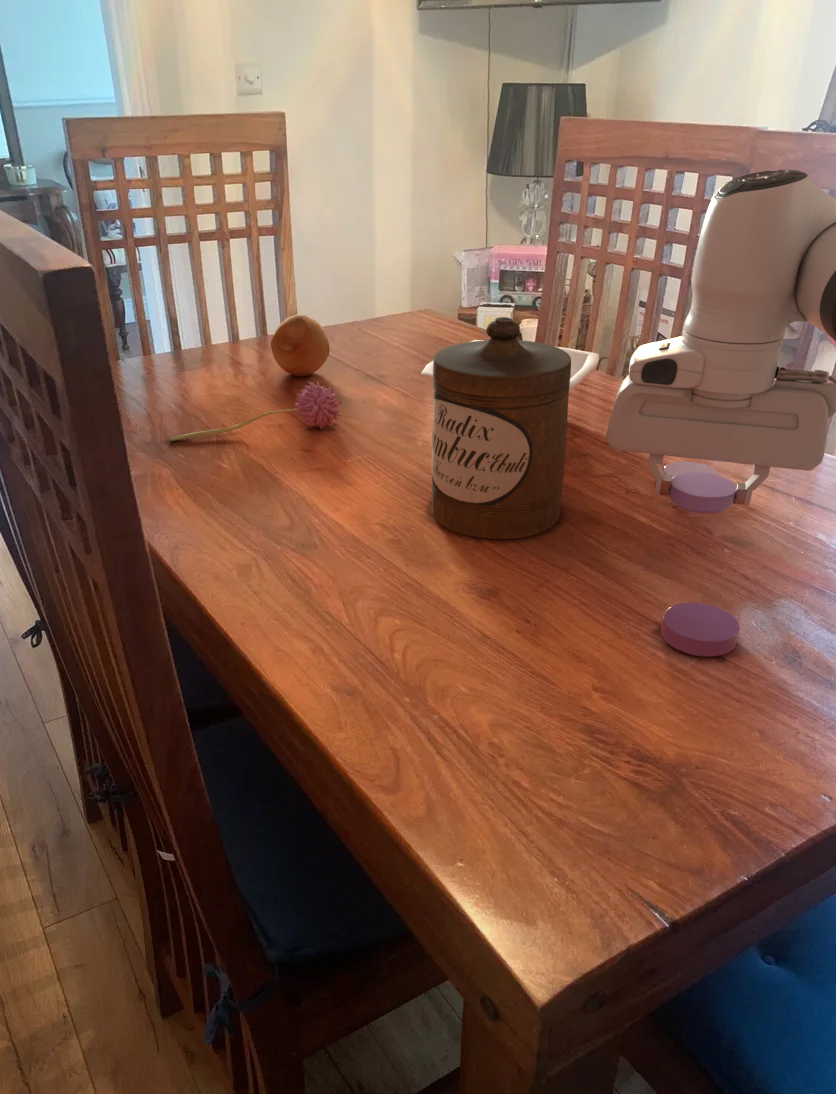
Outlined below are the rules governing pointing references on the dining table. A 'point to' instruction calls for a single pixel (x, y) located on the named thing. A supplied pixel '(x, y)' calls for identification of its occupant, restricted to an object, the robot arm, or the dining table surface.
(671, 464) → the pale pink disc
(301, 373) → the onion
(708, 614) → the mauve disc
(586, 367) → the bowl
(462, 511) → the wooden container
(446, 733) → the dining table surface
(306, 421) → the artificial flower
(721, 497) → the lavender disc
